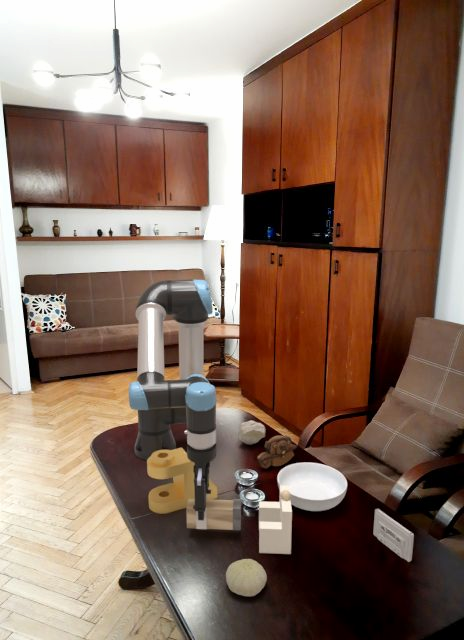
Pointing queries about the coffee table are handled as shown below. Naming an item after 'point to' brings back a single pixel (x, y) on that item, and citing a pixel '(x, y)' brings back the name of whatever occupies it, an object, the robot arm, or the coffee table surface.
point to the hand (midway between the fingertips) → (202, 522)
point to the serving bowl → (313, 485)
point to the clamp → (182, 487)
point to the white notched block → (276, 524)
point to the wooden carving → (277, 451)
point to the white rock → (251, 432)
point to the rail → (217, 514)
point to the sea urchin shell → (246, 577)
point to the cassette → (393, 535)
